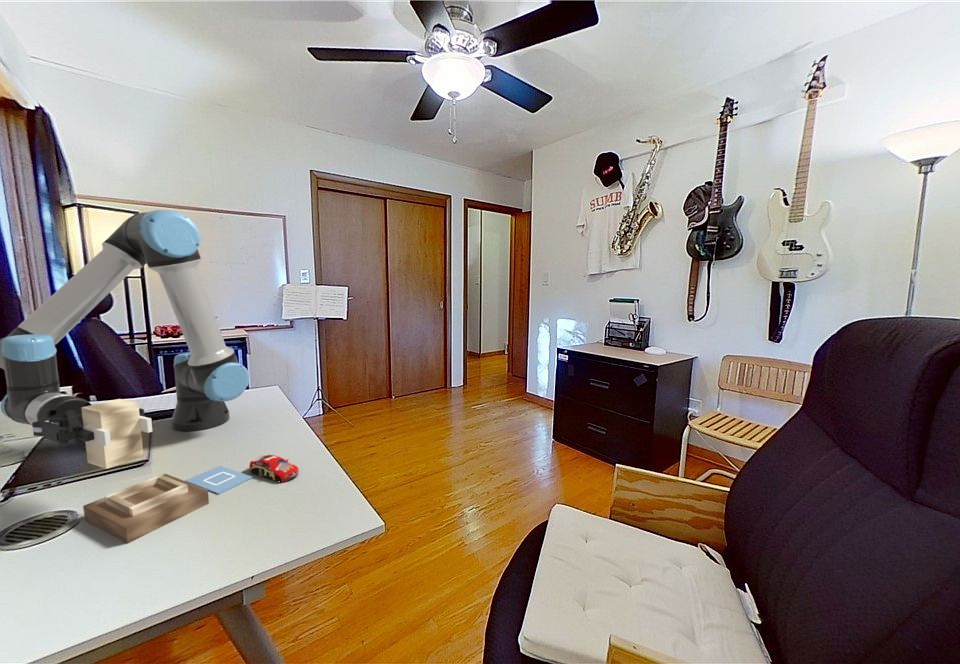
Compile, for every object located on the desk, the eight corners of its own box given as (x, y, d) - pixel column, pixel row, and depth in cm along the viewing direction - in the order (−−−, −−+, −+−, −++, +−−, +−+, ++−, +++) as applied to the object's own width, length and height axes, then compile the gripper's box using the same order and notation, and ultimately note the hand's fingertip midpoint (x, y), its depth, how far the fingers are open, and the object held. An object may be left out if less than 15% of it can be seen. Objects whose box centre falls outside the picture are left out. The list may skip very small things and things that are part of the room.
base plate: (166, 486, 89) (165, 467, 88) (208, 503, 83) (207, 483, 82) (84, 520, 76) (82, 498, 75) (127, 543, 70) (125, 519, 69)
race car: (303, 475, 96) (303, 460, 95) (284, 486, 91) (283, 470, 90) (266, 463, 101) (265, 448, 100) (246, 472, 96) (245, 457, 95)
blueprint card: (220, 466, 98) (219, 465, 98) (252, 478, 93) (252, 476, 93) (185, 481, 91) (185, 480, 91) (218, 494, 86) (218, 492, 86)
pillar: (125, 450, 81) (119, 398, 79) (143, 455, 79) (138, 402, 77) (87, 462, 75) (81, 407, 74) (106, 468, 73) (100, 412, 72)
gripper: (117, 416, 92) (184, 432, 84) (-4, 448, 74) (64, 473, 66) (114, 384, 91) (181, 398, 83) (-10, 409, 73) (59, 430, 65)
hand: (129, 431), depth 74 cm, fingers closed on pillar, 6 cm apart
